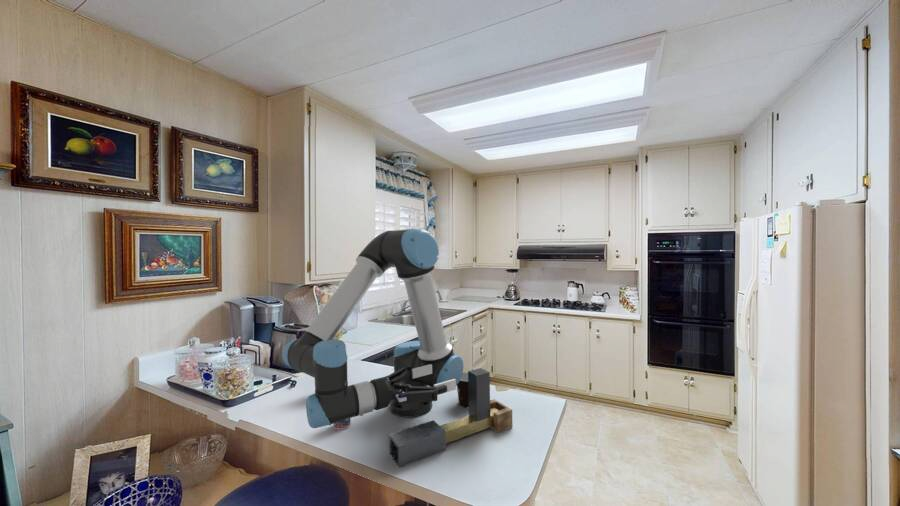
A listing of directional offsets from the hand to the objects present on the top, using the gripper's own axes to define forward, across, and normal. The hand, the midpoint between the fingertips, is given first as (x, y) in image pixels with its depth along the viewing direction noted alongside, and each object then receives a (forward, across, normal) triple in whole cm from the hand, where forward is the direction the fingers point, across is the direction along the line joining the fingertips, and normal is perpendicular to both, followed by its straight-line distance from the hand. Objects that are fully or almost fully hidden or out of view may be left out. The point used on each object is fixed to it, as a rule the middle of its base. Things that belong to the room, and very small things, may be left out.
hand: (442, 375), depth 98 cm
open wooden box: (+19, 0, -20) cm, 28 cm away
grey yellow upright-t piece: (+8, 0, -19) cm, 21 cm away
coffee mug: (+20, -18, -21) cm, 34 cm away
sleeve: (-9, 0, -20) cm, 22 cm away
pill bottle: (-23, -26, -20) cm, 40 cm away
